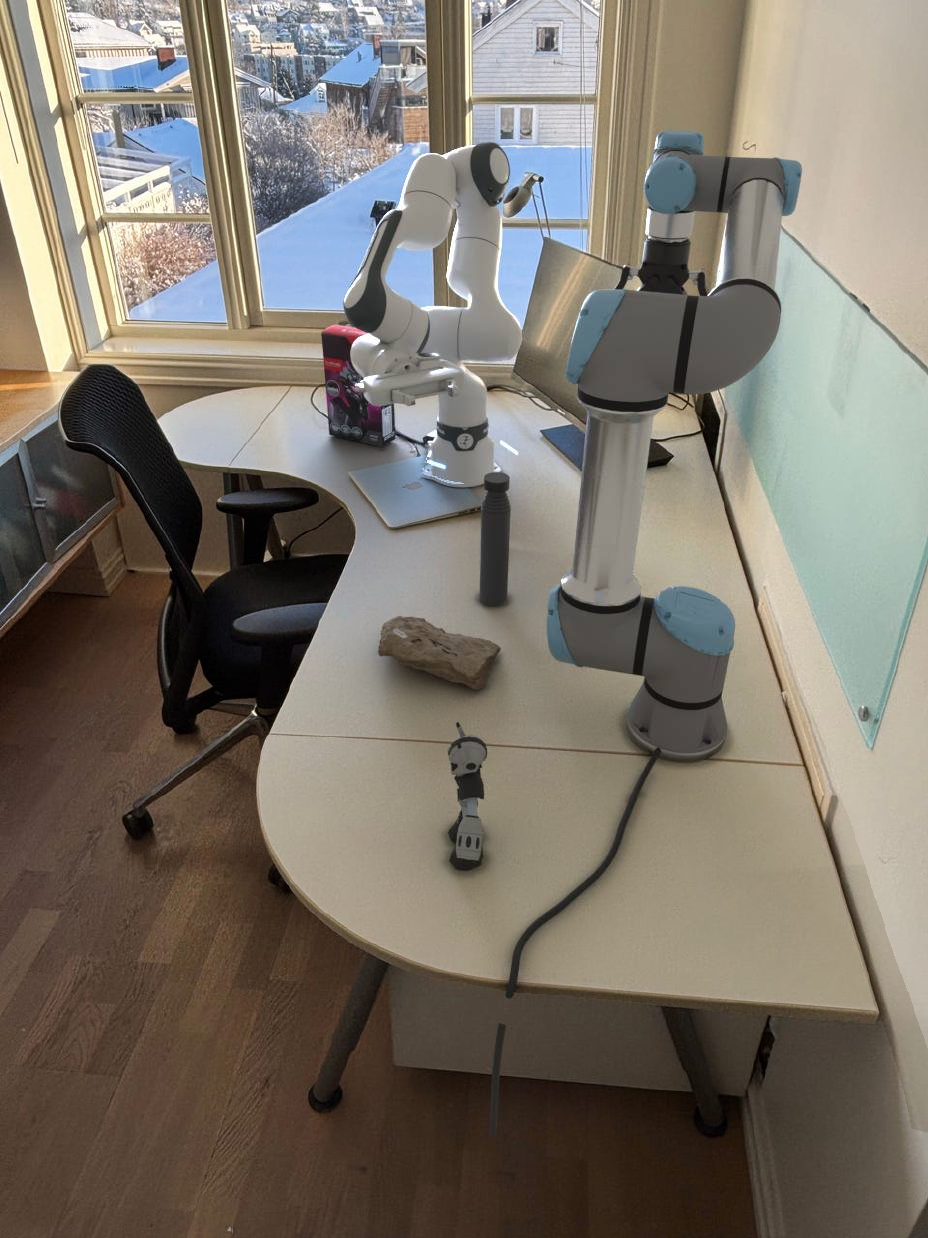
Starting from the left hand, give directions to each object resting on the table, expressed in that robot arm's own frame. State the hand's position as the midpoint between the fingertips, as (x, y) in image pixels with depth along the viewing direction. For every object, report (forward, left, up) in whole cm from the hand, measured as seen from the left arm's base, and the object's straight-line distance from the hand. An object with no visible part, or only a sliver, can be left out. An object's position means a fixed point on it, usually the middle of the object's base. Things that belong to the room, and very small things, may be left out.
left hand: (434, 397), depth 172 cm
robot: (+81, -3, -33) cm, 87 cm away
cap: (+20, +9, -8) cm, 23 cm away
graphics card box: (-59, -14, -33) cm, 69 cm away
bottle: (+20, +9, -33) cm, 39 cm away
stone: (+39, -4, -33) cm, 51 cm away
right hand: (+9, +38, +8) cm, 40 cm away
